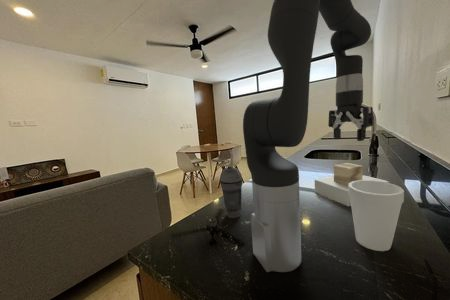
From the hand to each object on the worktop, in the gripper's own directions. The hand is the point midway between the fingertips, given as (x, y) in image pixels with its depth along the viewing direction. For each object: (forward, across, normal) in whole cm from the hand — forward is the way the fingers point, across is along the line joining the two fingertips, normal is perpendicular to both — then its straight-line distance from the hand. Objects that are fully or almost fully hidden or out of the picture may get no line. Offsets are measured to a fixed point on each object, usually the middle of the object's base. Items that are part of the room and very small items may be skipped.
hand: (348, 139), depth 65 cm
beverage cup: (+20, -6, -41) cm, 46 cm away
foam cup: (+20, +20, -17) cm, 34 cm away
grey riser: (+20, -1, +2) cm, 20 cm away
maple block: (+15, 0, 0) cm, 15 cm away
